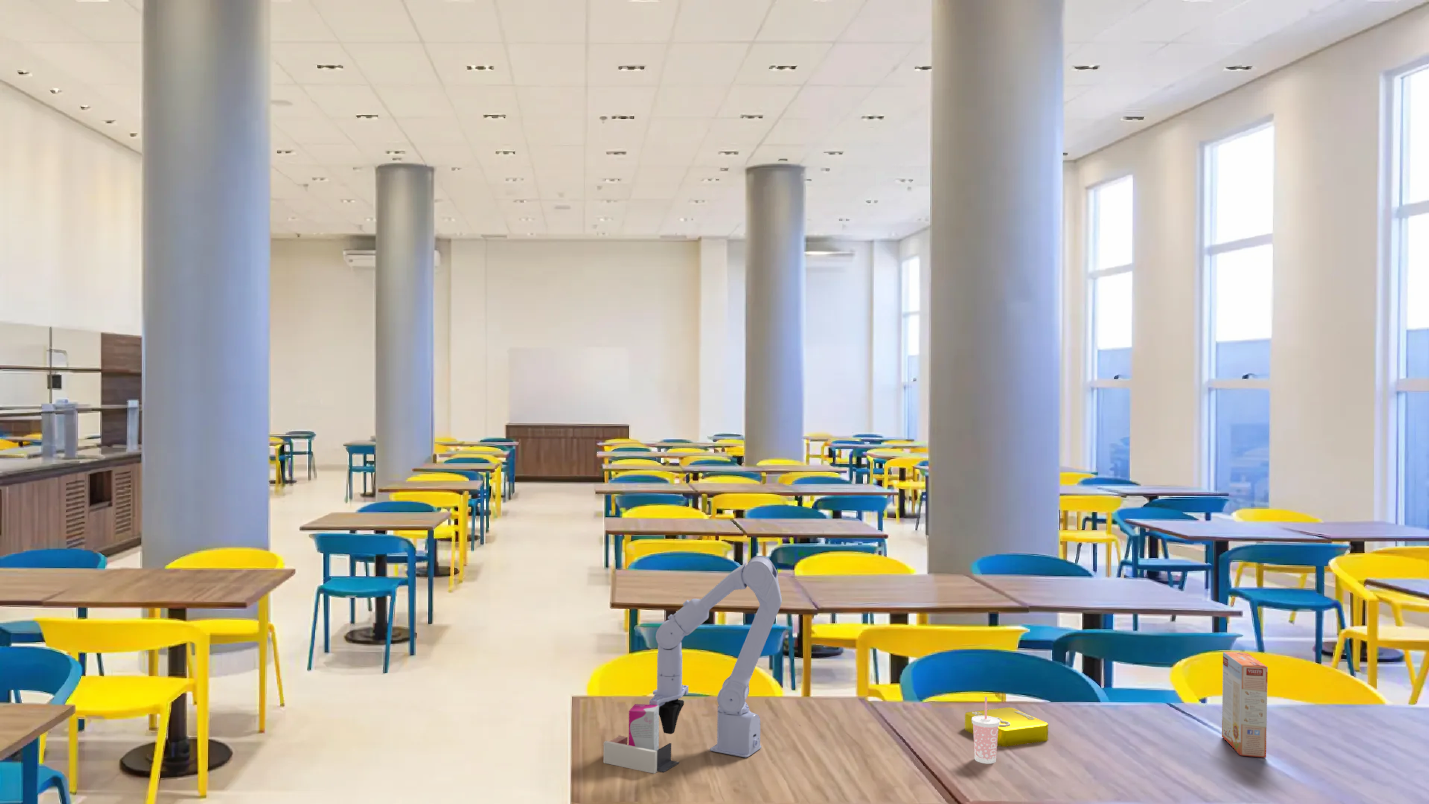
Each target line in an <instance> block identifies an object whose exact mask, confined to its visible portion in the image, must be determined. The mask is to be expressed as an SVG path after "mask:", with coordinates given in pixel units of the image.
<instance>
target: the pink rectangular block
mask: <svg viewBox="0 0 1429 804" xmlns="http://www.w3.org/2000/svg"><path fill="white" fill-rule="evenodd" d="M628 740H629V736H624V735H618V736H616V737H615V738H612V739H611V740H609V741H610V742H615V743H620V744H625V745H628Z"/></svg>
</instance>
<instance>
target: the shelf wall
mask: <svg viewBox="0 0 1429 804" xmlns="http://www.w3.org/2000/svg"><path fill="white" fill-rule="evenodd" d="M610 741H611V740H605V741H603V764H607V765H612V766H617V767H621V768H627V769H631V770H636V771H640V772H645V773H649V774H656V773H657V772H658V771H657V751H655V750H650V749H645V748H640V747H635V746H630V745H629V744H627V745H625V744H620V743H615V742H610Z"/></svg>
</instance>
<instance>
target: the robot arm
mask: <svg viewBox="0 0 1429 804" xmlns="http://www.w3.org/2000/svg"><path fill="white" fill-rule="evenodd" d="M778 574H779V573H778V570H777V569H776V567H775V565H774V563H773V562H772V561H771V560H770V558H769V557H767V556H764V555H756V556H753V557H751V559H749V561H748V563H747V562H745V563H743V564H742V565H740V566H738V567H737V568H735V569H734V570H732V571H731V572H730V573H729V574H728V575H726V576H725V577H724V578H723V579H722V580H720V582H719V583H717V584H716V585H715V586H713V588H712V589H711V590H710V591H708V593H706V594H705V595H704V596H703V597H702V598H692V599H686V600H685V601H684V602H683V604H682V605H683V606H682V607H681V608H680V609H679V610H678V611H676V612H675V613H674V614H669V615H668V616H667V620H665V621H664V622H662V623H661V624H660V626H659V627H658V628H657V629H656V632H655V640H656V643H657V654H656V655H657V665H656V666H657V668H656V689H654V690H653V691H652V694H653V697H652V698H650V699H649V701H648V702H649V704H648V705H659V720H660V721H661V722H660V723H661V726H662V730H663V734H667V735H673V734H675V731H676V727H677V724H678V723H677V722H678V719H679V715H680V713H681V711H682V709H683V707H684V705H685V701H684V700H683V699H682V697H683V696H687V695H689V685H686V684H685V685H684V684H683V652H682V648H683V647H682V645H683V644H682V641H683V639H684V637H685V636H689V635H690V634H692V633H693V632H694V631H695V630H696V629H698V628H699V627H700V626H701V625H702V624H703V623H704V622H705V621H707V620H708V619H709V617H710V610H711V609H712V608H713V607H715V606H716V605H717V604H719V603H720V602H721V601H723V600H724V599H725V598H726V597H728V596H729V595H730V594H731V593H732V592H734V591H736V590H737V591H738V590H746V589H747V587H748V588H749V589H750V590H751V591H752V592H753V593H754V595H755V597H756V600H757V601H758V603H759V607H758V608H757V611H756V614H755V616H754V618H753V620H752V623H751V625H750V628H749V631H748V633H747V635H746V638H745V641H744V642H743V644H742V647H741V650H740V651H739V652H740V653H739V654H738V657H737V659H736V662H735V664H734V667H733V669H732V672H731V674H730V675H729V676H728V677H727V678H726V679H725V680H724V681H723V683H722V685H721V686H722V687H721V689H720V690H719V691H718V693H717V697H716V701H717V704H718V706H717V719H716V720H717V721H716V722H717V724H716V725H717V729H716V730H717V734H716V735H717V736H716V738H717V740H716V744H715V745H712V747H710V748H709V751H711V752H716V753H720V754H725V755H731V756H736V757H740V758H741V757H742V758H749V757H750V756H751V755H753V754H754V753H757V751H759V750H760V749H761V748H762V745H761V718H760V716H759V714H757V713H754V712H753V711H751V710H750V706H749V705H748V703H747V702H746V700H747V698H748V696H749V693H750V685H749V684H750V680H751V679H752V676H753V673H754V671H755V668H756V666H757V664H758V662H759V659H760V657H761V655H762V652H763V649H764V647H765V645H766V641H767V639H768V637H769V635H770V633H771V630H772V627H773V625H774V623H775V620H776V618H777V616H778V614H779V612H780V611H779V610H780V608H781V606H782V603H783V596H782V591H781V587H780V581H779V576H778Z"/></svg>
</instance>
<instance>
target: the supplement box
mask: <svg viewBox="0 0 1429 804" xmlns="http://www.w3.org/2000/svg"><path fill="white" fill-rule="evenodd" d="M659 731H660V716H659V705H649V704H645V703H644V704H643V703H642V704H641V703H639V704H638V703H634V704H633V706H632V707H631V708H630V709H629V710H628V745H630V746H635V747H640V748H645V749H650V750H655V751H657V750H658V749H660V746H659V744H660V742H659V741H660V738H659V737H660V735H659V734H660V732H659Z"/></svg>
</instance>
